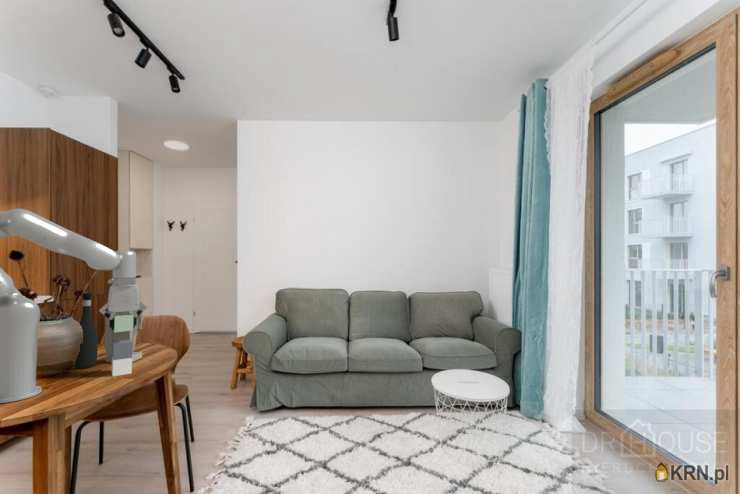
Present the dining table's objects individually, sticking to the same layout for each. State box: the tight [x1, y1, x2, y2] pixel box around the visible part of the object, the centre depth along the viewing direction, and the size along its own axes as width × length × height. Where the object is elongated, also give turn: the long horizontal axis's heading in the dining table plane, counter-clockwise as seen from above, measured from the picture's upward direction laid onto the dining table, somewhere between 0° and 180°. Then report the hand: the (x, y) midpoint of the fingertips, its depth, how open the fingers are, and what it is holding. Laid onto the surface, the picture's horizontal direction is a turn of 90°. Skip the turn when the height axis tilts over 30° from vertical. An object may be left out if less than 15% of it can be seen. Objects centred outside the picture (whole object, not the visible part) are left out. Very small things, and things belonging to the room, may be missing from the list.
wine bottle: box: [72, 292, 99, 370], centre depth 149 cm, size 8×8×30 cm
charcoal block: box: [112, 339, 133, 360], centre depth 142 cm, size 6×6×6 cm
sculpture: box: [104, 293, 144, 363], centre depth 159 cm, size 15×8×30 cm, turn 84°
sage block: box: [114, 313, 134, 332], centre depth 142 cm, size 6×6×6 cm
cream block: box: [111, 358, 133, 377], centre depth 142 cm, size 6×6×6 cm
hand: (123, 327), depth 142 cm, fingers closed on sage block, 6 cm apart
